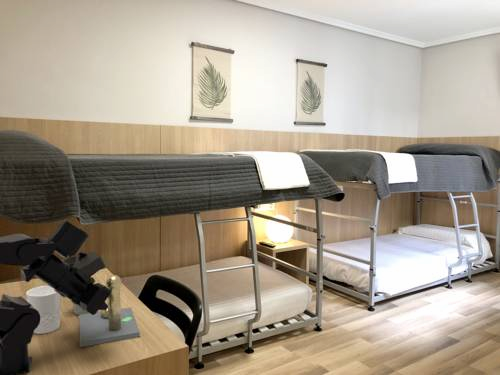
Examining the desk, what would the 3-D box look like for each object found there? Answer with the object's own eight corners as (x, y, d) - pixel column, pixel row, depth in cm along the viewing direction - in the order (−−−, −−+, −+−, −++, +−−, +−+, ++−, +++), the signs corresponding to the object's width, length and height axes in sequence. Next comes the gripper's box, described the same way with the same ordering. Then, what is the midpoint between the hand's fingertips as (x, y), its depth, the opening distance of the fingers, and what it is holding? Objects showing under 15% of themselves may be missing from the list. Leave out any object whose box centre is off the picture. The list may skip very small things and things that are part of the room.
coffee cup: (90, 316, 115) (89, 281, 114) (65, 316, 115) (63, 281, 114) (99, 307, 122) (98, 273, 121) (75, 307, 122) (74, 273, 121)
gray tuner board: (139, 336, 103) (139, 331, 103) (80, 346, 98) (79, 341, 98) (131, 311, 119) (131, 307, 118) (79, 319, 113) (79, 314, 113)
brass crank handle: (99, 313, 114) (98, 264, 112) (116, 310, 116) (115, 262, 114) (106, 332, 102) (104, 278, 101) (125, 328, 104) (123, 276, 103)
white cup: (30, 324, 110) (28, 287, 109) (63, 320, 113) (61, 283, 112) (26, 337, 103) (24, 297, 102) (61, 332, 105) (59, 293, 104)
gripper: (100, 251, 90) (147, 288, 99) (65, 237, 103) (109, 271, 112) (65, 296, 85) (117, 331, 94) (32, 276, 98) (81, 308, 107)
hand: (106, 308), depth 102 cm, fingers closed
